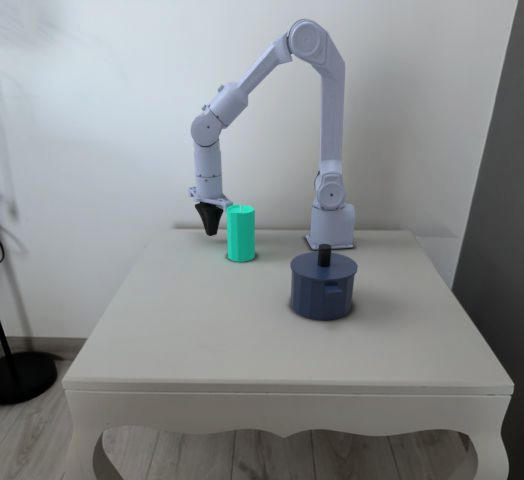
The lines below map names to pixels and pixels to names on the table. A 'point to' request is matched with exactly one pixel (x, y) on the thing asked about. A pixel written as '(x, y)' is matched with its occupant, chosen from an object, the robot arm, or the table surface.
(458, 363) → the table surface
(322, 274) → the pot lid
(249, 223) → the candle
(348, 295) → the pot
